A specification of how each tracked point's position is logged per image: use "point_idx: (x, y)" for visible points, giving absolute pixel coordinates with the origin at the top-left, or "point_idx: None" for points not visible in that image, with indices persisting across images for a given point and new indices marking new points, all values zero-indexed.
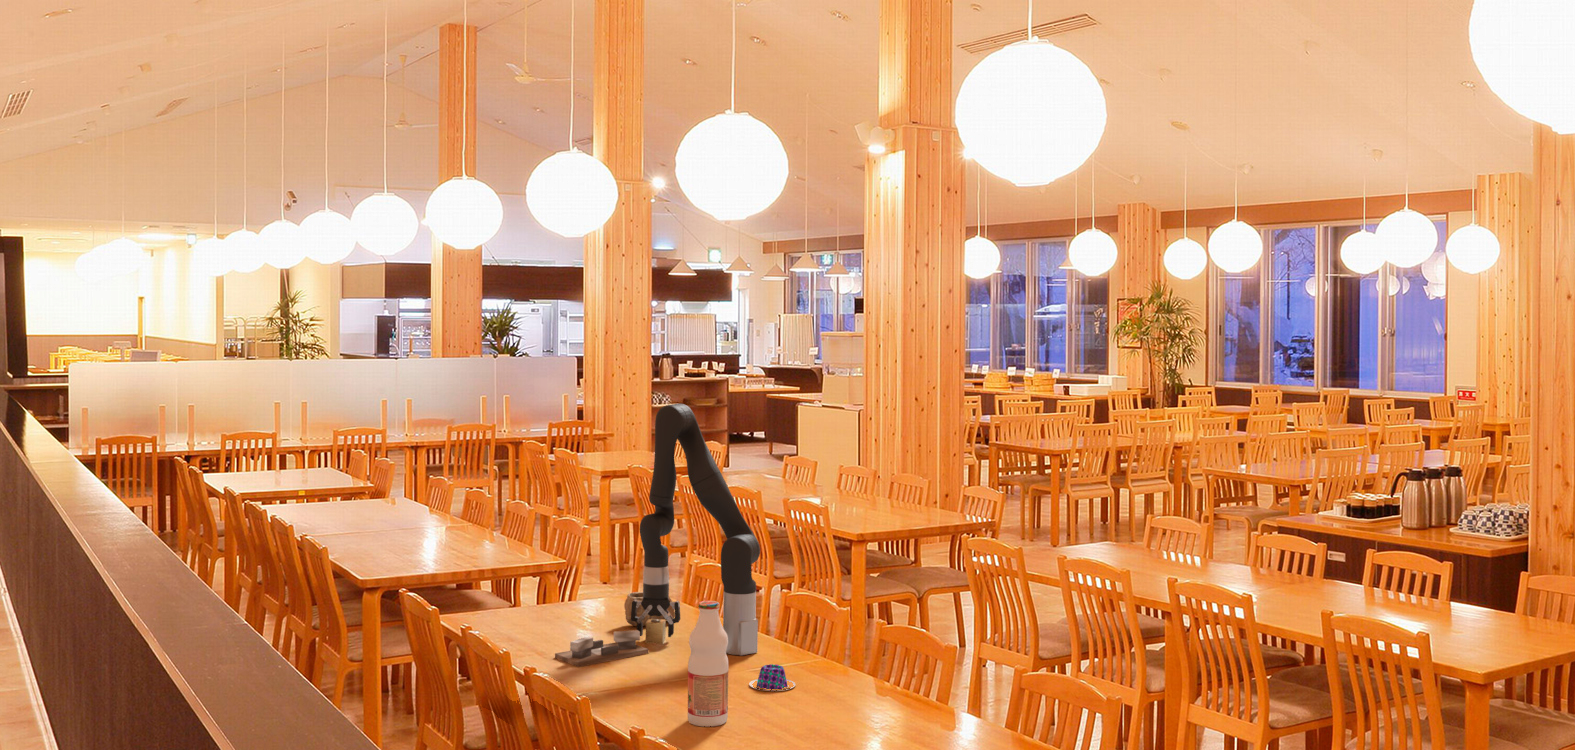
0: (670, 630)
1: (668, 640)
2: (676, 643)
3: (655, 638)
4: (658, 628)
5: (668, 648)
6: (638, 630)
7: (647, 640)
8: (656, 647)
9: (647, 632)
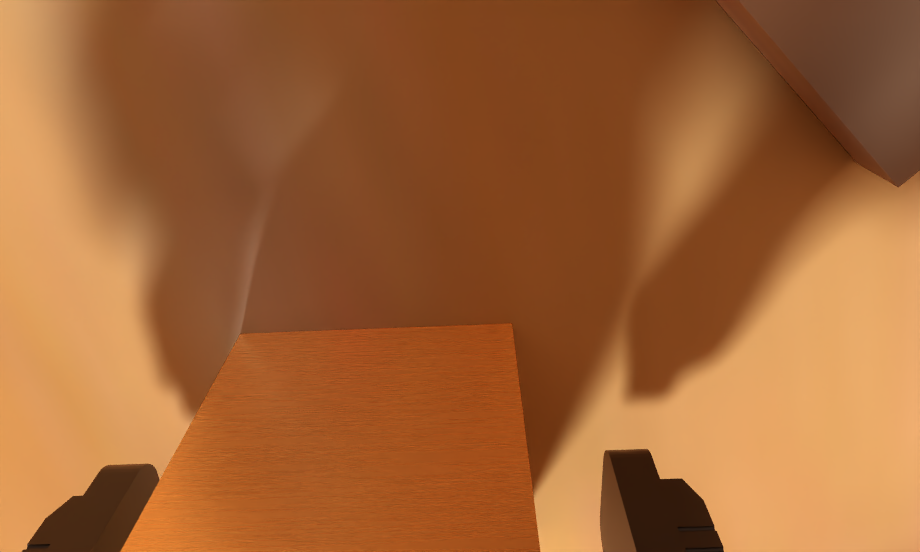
0: (49, 547)
1: None
2: (42, 377)
3: (341, 377)
4: (238, 511)
5: (13, 51)
6: (686, 526)
7: (481, 347)
8: (253, 87)
9: (486, 435)
